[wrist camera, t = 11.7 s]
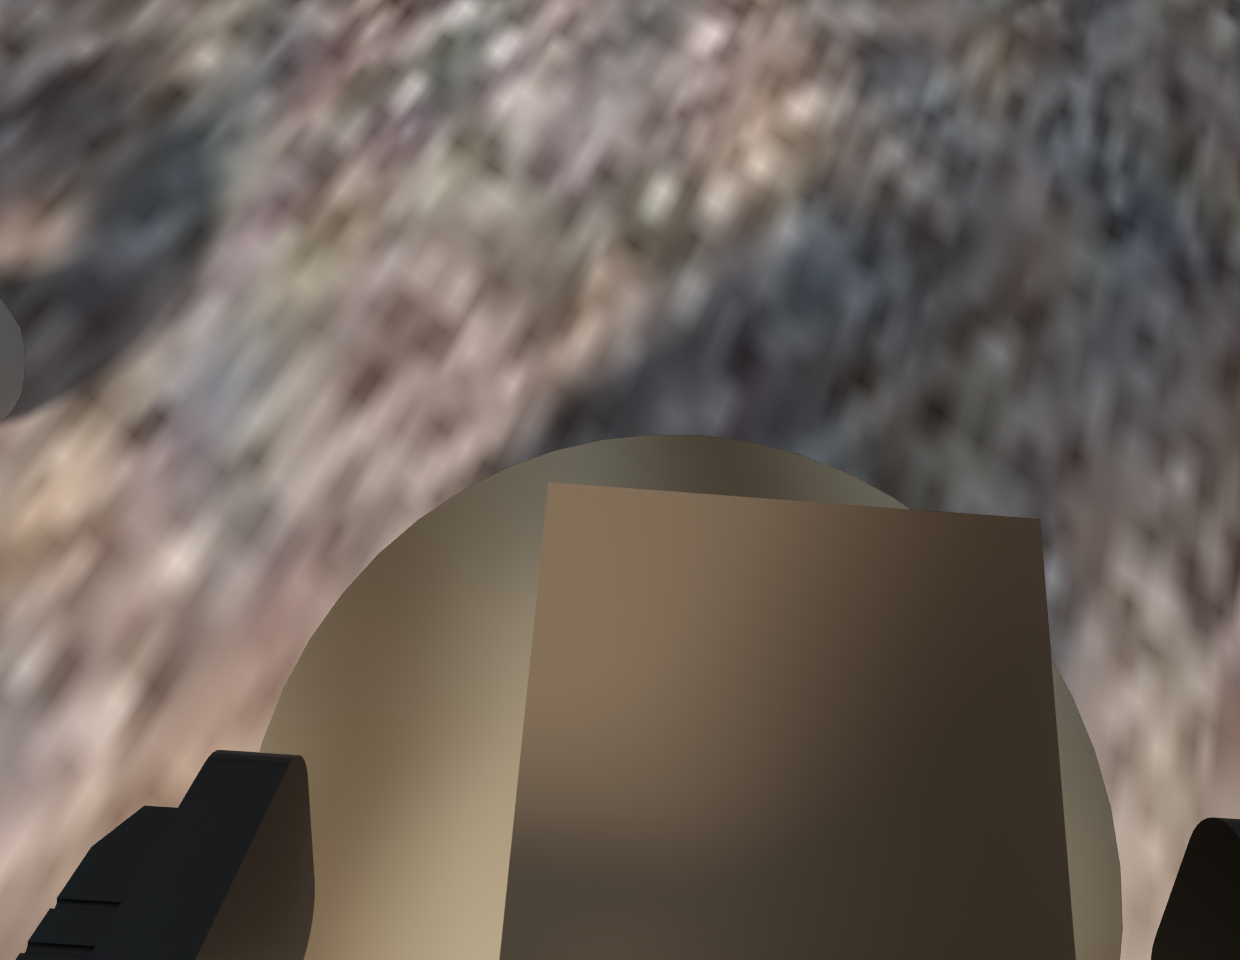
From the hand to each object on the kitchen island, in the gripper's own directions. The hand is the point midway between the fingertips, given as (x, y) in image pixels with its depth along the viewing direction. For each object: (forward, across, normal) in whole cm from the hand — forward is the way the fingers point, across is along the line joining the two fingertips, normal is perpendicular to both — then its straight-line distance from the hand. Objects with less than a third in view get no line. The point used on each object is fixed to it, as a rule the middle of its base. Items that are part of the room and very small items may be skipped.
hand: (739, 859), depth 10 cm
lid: (+7, 0, +6) cm, 9 cm away
